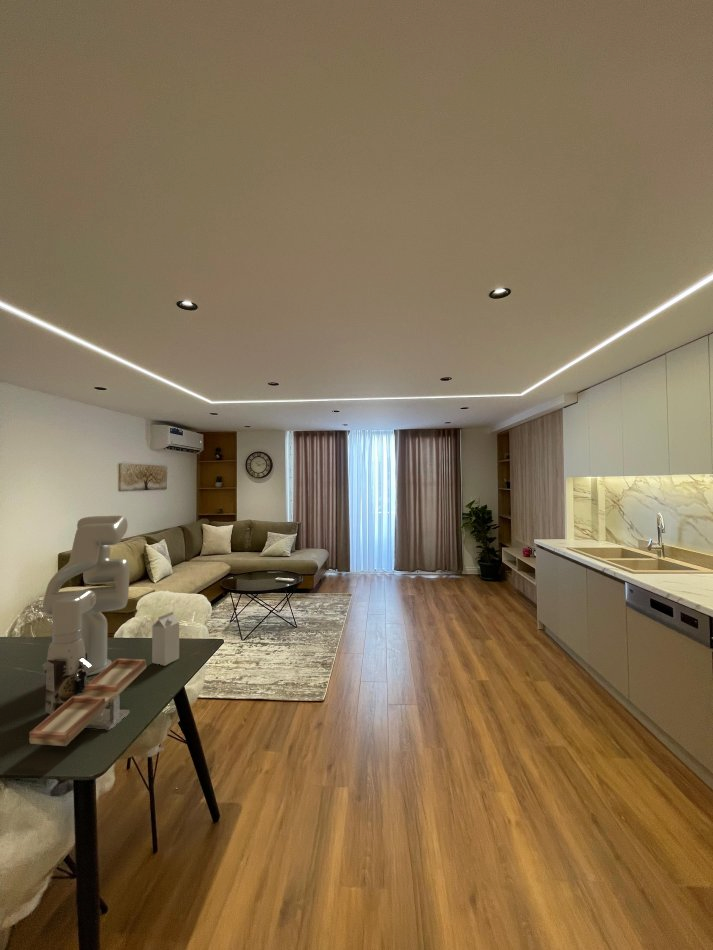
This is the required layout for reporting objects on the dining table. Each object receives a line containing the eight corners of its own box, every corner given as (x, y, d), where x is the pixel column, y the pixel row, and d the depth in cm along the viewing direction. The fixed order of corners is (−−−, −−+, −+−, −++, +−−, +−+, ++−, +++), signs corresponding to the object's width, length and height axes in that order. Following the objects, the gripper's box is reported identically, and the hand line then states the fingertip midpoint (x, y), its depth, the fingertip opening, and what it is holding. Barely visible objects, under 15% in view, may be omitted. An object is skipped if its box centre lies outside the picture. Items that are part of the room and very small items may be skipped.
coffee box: (54, 717, 115) (55, 665, 115) (44, 711, 118) (45, 660, 118) (87, 702, 123) (87, 653, 123) (77, 696, 126) (77, 648, 126)
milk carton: (151, 663, 152) (152, 616, 152) (166, 655, 158) (166, 610, 159) (164, 666, 149) (165, 618, 149) (179, 658, 155) (179, 612, 156)
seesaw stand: (60, 726, 111) (60, 702, 112) (83, 711, 119) (83, 688, 120) (109, 730, 110) (109, 705, 110) (129, 713, 117) (129, 690, 118)
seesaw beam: (29, 746, 100) (27, 733, 99) (118, 668, 131) (117, 658, 131) (67, 749, 98) (64, 736, 98) (147, 669, 130) (146, 659, 129)
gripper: (31, 640, 118) (31, 695, 118) (81, 642, 116) (81, 699, 116) (53, 630, 126) (53, 682, 125) (101, 632, 124) (100, 685, 123)
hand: (67, 690), depth 121 cm, fingers closed on coffee box, 8 cm apart
